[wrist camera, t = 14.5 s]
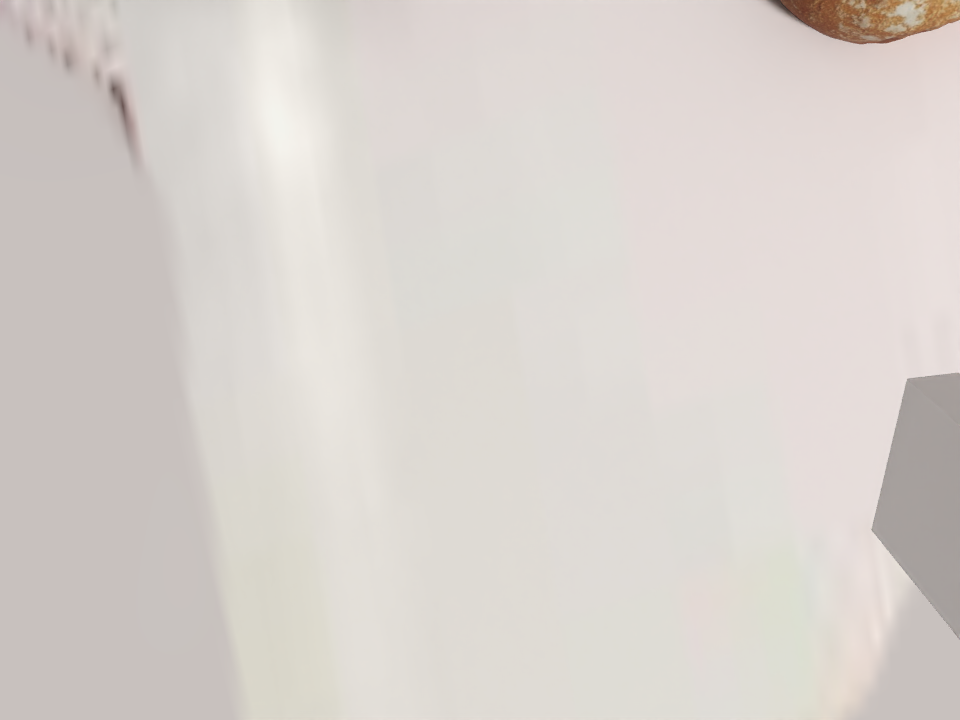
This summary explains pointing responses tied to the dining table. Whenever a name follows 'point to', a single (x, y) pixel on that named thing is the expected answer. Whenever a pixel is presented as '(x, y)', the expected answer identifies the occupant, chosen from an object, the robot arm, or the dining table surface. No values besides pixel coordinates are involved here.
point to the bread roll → (874, 17)
